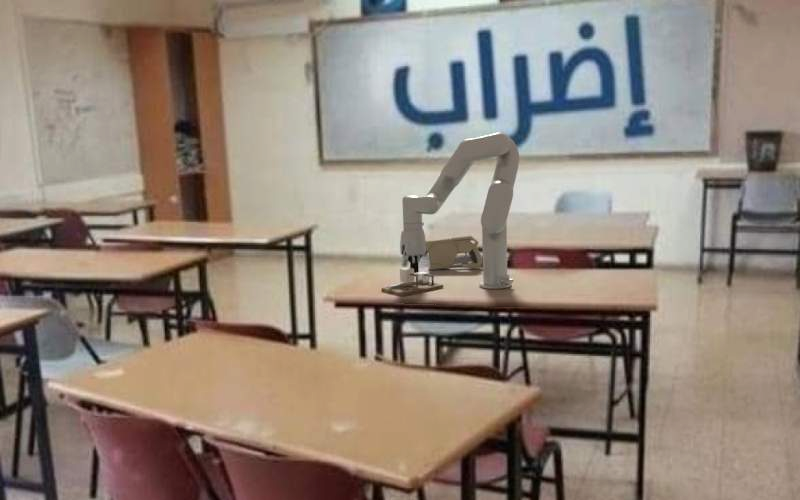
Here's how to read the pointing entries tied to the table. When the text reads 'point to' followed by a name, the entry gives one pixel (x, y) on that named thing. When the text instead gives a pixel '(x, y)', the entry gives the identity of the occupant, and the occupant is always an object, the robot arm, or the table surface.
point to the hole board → (413, 289)
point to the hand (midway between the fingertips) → (414, 272)
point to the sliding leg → (408, 275)
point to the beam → (422, 278)
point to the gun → (453, 252)
